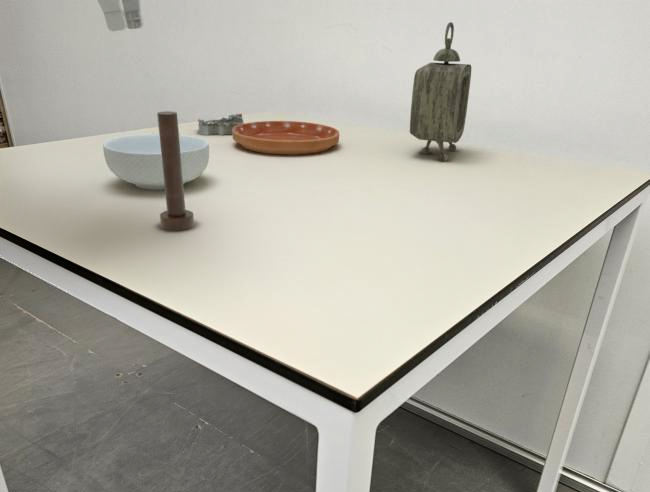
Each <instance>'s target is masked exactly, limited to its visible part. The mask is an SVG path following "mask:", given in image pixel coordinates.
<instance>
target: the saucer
mask: <svg viewBox="0 0 650 492" xmlns="http://www.w3.org/2000/svg"><path fill="white" fill-rule="evenodd" d="M231 135H232V140H233V141H235V142H236V143H238V144H240V145H241V147H243V148H244V149H247V150H250V151H253V152H257V153H262V154H267V155H268V154H269V155H280V156H281V155H283V156H285V155H286V156H287V155H289V156H292V155H294V156H295V155H296V156H297V155H298V156H299V155H308V154H309V155H310V154H315V153H316V154H317V153H321V152H325V151H328V150H329V149H331V147H333V146H335V145H337V144H338V143H339V142H340V131H339V130H338V129H337V128H335V127H332V126H328V125H325V124H321V123H314V122H306V121H293V120H261V121H252V122H244V124H241V125H237V126H235V127H234V128H233V129H232V134H231Z"/></svg>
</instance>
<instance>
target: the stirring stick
mask: <svg viewBox="0 0 650 492" xmlns="http://www.w3.org/2000/svg"><path fill="white" fill-rule="evenodd" d="M156 115H157V125H158V134H159V136H160V146H161V156H162V166H163V175H164V185H165V189H164V191H165V192H164V193H165V203H166V210H165V211H162V212H160V214H159V221H160V229H162V230H163V231H166V232H176V233H177V232H185V231H189V230H191V229H193V228H195V218H194V216H195V215H194V212H193V211H192V210H188V209H186V201H185V189H184V185H183V176H182V165H181V153H180V142H179V135H180V130H179V119H178V113H177V111H171V110H170V111H165V110H163V111H158V112H157V113H156Z"/></svg>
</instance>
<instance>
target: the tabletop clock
mask: <svg viewBox="0 0 650 492" xmlns="http://www.w3.org/2000/svg"><path fill="white" fill-rule="evenodd" d="M449 31H450V37H449V38H448V35H449ZM454 32H455V27H454V23H453V22H452V21H450V22H448V23H447V25H446V28H445V34H444V46H445V47H444V48H441V49H439V50H438V51H437V52H436V53H435V55H434V57H433V59H432V60H433V61H435V62H428V63H426V64H425V65H423V66H421V67H419V68H418V69H417V70H416V71H415V72H414V77H413V84H412V85H413V86H412V95H411V104H410V120H409V134H410V135H411V136H413V137H414V138H416V139H417V140H419V141H426V144H425V145H426V146H425V147H423V148H422V149H421V154H422V155H429V153H430V151H431V150H430V148H429V147H430V145H431V143H432V142H435V143H436V144H437V145H438V148H439V151H440V155H439V161H440V162H447V161H448V158H449V157H448V155H447V154H446V153H445V151H444V143H448V144H449V145H448V151H449V152H455V151H456V150H457V145H456V144H457V143H458V142H459V141H460V139H462V136H463V133H464V131H465V126H466V125H465V124H466V118H467V112H468V105H469V97H470V88H471V81H472V80H471V78H472V65H471V64H470V63H469V64H467V63H457V62H461V58H460V55H459V53H458V51H457V50H455V49H453V48H452V44H453V40H454V34H455V33H454ZM450 62H451V63H450Z"/></svg>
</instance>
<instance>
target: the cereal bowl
mask: <svg viewBox="0 0 650 492" xmlns="http://www.w3.org/2000/svg"><path fill="white" fill-rule="evenodd" d="M179 142H180V153H181V165H182V176H183V186H185V184H186V183H189V182H191V181H193V180H195V179H197V178H199V177H200V176H201V175H202V174H203V173H204V172H205V170H206V169H207V167H208V164H209V159H210V144H209V141H208V140H206V139H204V138H201V137H198V136H195V135H194V136H193V135H187V134H179ZM102 148H103V149H102V151H103V156H104V161H105V162H106V165H107V168H108V169H109V170H110V171H111V173H113V175H115V176H116V177H117V178H118V179H121V180H123V181H124V182H127V183H130V184H133V185H134V186H135V187H137V188H138V189H142V190H143V189H144V190H154V191H158V190H159V191H161V190H165V185H164V175H163V166H162V156H161V146H160V136H159V133H140V134H138V133H137V134H127V135H120V136H116V137H112V138H108V139H107V140H105V141H103V143H102Z"/></svg>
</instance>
